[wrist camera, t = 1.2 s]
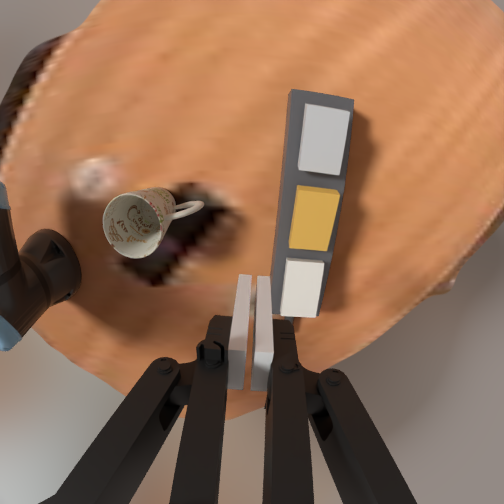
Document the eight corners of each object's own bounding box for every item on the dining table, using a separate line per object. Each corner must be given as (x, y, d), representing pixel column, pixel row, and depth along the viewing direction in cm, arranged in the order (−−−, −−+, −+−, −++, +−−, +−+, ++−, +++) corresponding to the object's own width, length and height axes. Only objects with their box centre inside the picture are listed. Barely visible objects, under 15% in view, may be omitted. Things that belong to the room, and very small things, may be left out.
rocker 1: (297, 166, 33) (298, 170, 31) (305, 103, 28) (307, 104, 27) (336, 171, 33) (339, 175, 31) (346, 110, 28) (350, 111, 27)
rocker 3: (279, 311, 39) (280, 315, 38) (286, 257, 38) (287, 260, 36) (313, 312, 39) (315, 317, 38) (321, 260, 38) (324, 263, 36)
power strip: (263, 325, 48) (264, 345, 43) (288, 94, 33) (292, 87, 28) (307, 327, 48) (311, 347, 44) (344, 103, 33) (356, 98, 28)
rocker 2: (288, 241, 37) (289, 248, 35) (297, 185, 32) (298, 190, 31) (324, 244, 37) (326, 251, 35) (337, 189, 32) (340, 195, 31)
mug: (127, 187, 39) (94, 203, 30) (203, 166, 38) (185, 176, 28) (142, 236, 42) (115, 263, 33) (216, 220, 41) (203, 246, 32)
